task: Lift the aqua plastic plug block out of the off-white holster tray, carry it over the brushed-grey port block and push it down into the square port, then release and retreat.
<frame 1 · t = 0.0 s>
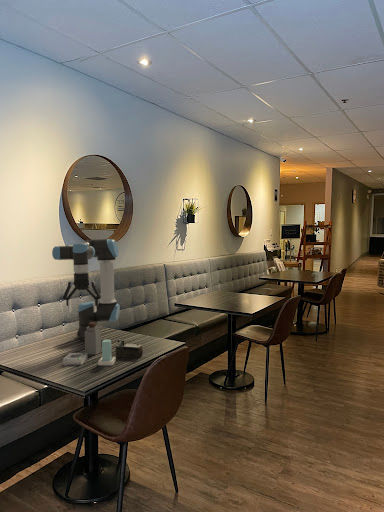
hand: (82, 312, 213), 28 cm above the table, fingers open, 13 cm apart
perfume bottle: (93, 353, 231), on the table
patch cord: (78, 355, 227), on the table
port block: (75, 362, 216), on the table
holster: (107, 363, 213), on the table
camera: (129, 357, 225), on the table
plug: (107, 362, 213), point 1 cm above the table, touching holster
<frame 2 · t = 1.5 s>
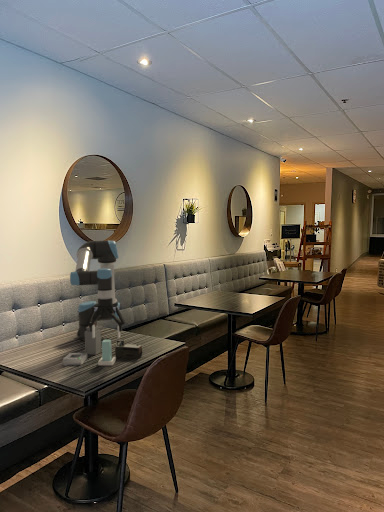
hand: (106, 337, 212), 14 cm above the table, fingers open, 13 cm apart
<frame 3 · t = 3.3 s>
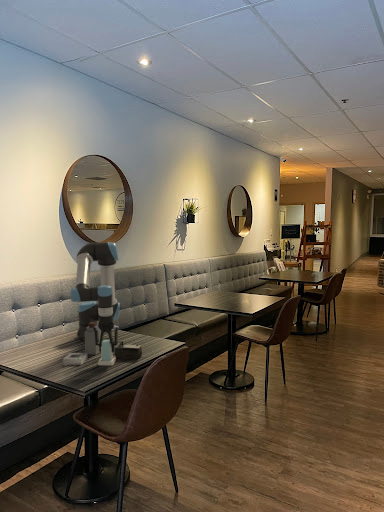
hand: (107, 357, 213), 3 cm above the table, fingers closed on plug, 4 cm apart
plug: (107, 362, 213), point 1 cm above the table, touching gripper, holster
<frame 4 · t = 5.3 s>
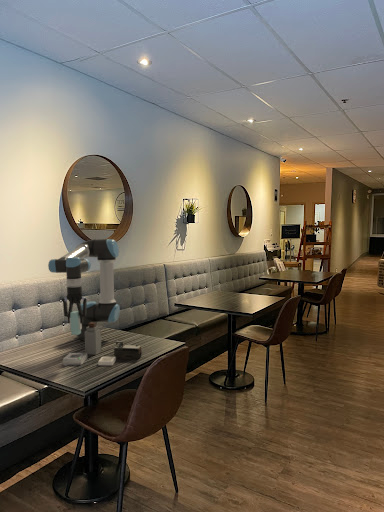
hand: (75, 329, 215), 18 cm above the table, fingers closed on plug, 4 cm apart
plug: (76, 333, 215), point 16 cm above the table, touching gripper
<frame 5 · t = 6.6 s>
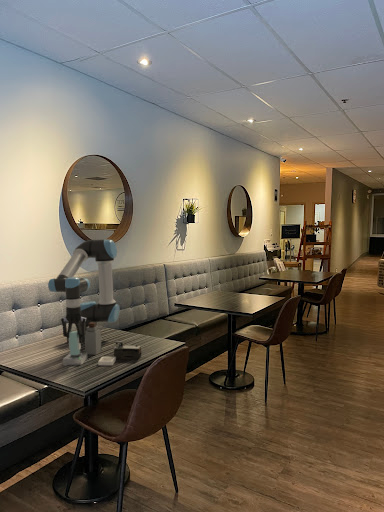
hand: (74, 348, 216), 7 cm above the table, fingers closed on plug, 4 cm apart
plug: (75, 353, 216), point 5 cm above the table, touching gripper
when the fingers open (4 cm above the table, at t = 7.4 s): plug drops 1 cm, resting on port block.
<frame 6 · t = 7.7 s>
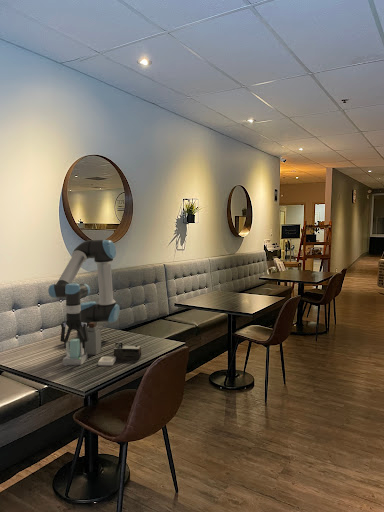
hand: (75, 354, 216), 5 cm above the table, fingers open, 7 cm apart
plug: (75, 361, 216), resting on port block
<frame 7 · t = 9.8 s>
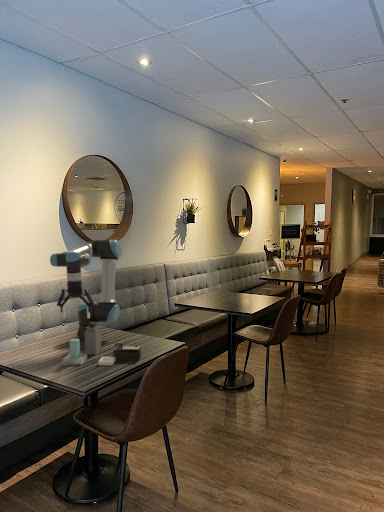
hand: (76, 318, 220), 23 cm above the table, fingers open, 13 cm apart
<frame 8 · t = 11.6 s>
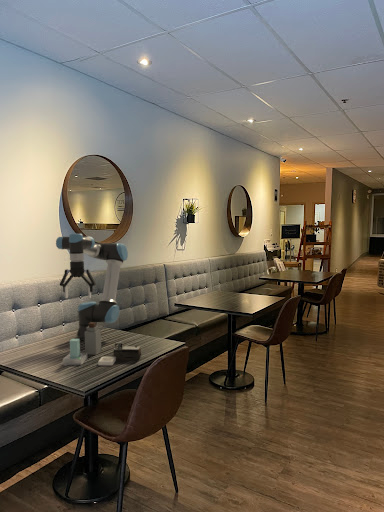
hand: (78, 298, 228), 33 cm above the table, fingers open, 13 cm apart
at the end: plug 0.1 cm off-centre on the port block, point 0.5 cm above the port block's base; plug tilted 0°; the gripper is holding nothing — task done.
